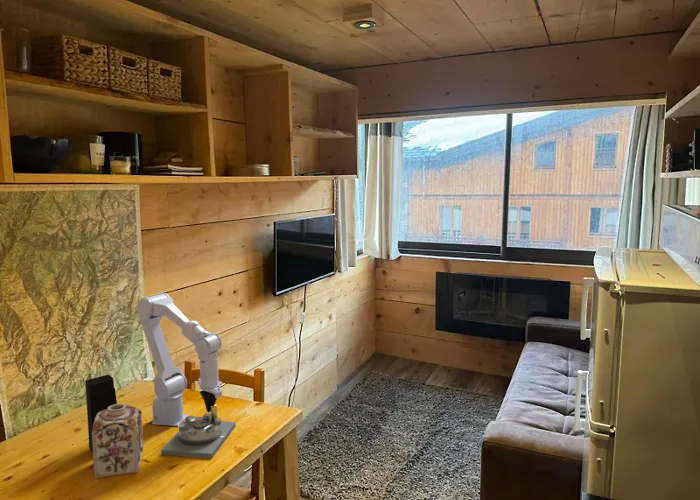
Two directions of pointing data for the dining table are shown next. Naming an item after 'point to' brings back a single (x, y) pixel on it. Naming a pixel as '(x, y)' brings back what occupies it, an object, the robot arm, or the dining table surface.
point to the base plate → (202, 450)
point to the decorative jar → (117, 441)
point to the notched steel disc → (200, 428)
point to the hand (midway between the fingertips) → (210, 411)
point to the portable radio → (98, 399)
